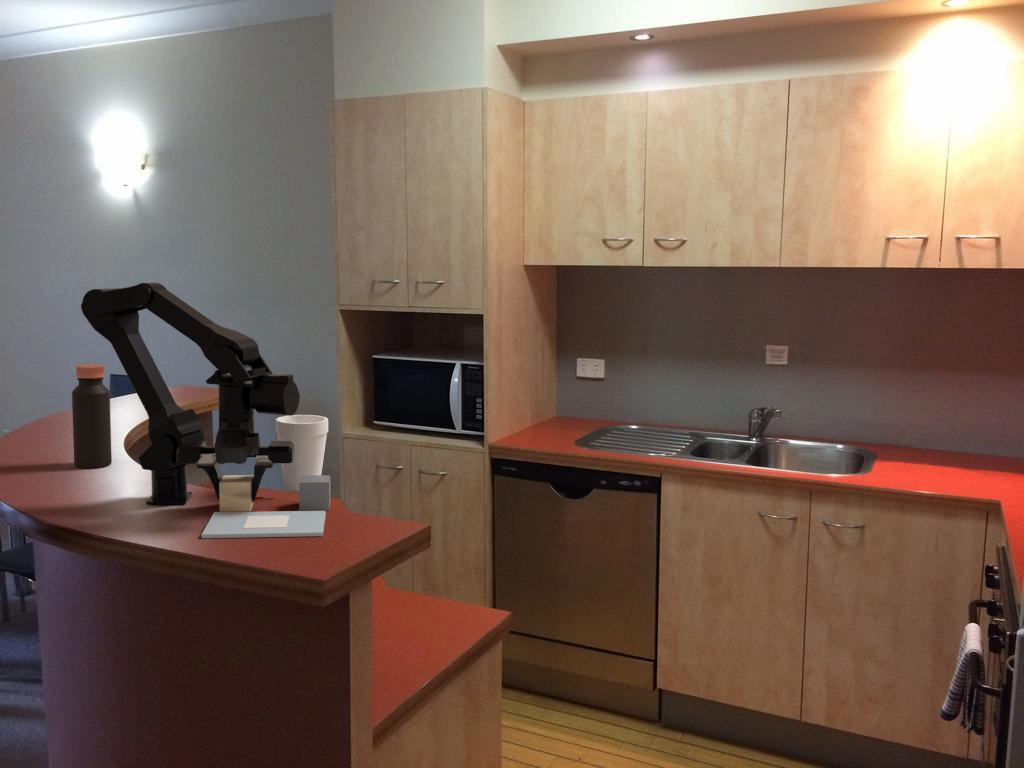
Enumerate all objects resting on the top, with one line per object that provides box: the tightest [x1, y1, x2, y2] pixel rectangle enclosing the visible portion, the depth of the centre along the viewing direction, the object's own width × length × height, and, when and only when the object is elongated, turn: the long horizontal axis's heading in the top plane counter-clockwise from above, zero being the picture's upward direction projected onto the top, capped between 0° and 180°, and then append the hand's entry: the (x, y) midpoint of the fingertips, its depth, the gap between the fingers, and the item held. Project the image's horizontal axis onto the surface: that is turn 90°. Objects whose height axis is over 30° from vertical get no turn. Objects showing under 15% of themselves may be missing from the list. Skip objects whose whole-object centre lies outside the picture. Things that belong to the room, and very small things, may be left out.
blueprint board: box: [200, 510, 327, 539], centre depth 141 cm, size 12×18×1 cm, turn 100°
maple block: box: [219, 474, 255, 512], centre depth 151 cm, size 5×5×5 cm
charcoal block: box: [298, 474, 331, 511], centre depth 153 cm, size 5×5×5 cm
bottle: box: [71, 364, 113, 470], centre depth 176 cm, size 7×7×20 cm
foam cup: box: [275, 414, 329, 493], centre depth 165 cm, size 10×9×13 cm
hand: (237, 501), depth 151 cm, fingers closed on maple block, 5 cm apart
